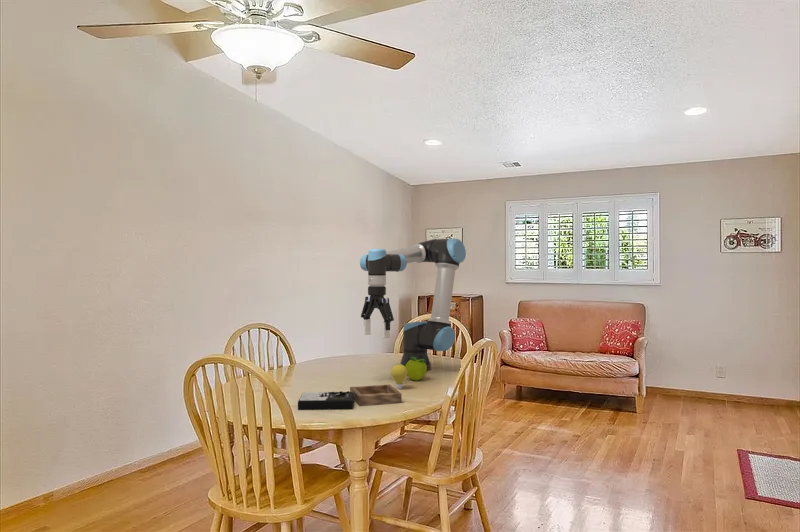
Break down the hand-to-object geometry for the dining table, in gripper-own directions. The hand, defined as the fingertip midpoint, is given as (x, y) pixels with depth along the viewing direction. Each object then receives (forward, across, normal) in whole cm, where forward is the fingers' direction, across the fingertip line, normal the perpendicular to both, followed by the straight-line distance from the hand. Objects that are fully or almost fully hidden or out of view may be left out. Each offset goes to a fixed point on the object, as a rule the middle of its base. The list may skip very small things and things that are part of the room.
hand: (376, 336), depth 226 cm
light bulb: (+21, +9, +5) cm, 23 cm away
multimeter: (+22, +13, -32) cm, 41 cm away
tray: (+21, +17, -13) cm, 30 cm away
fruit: (+21, 0, +21) cm, 30 cm away
